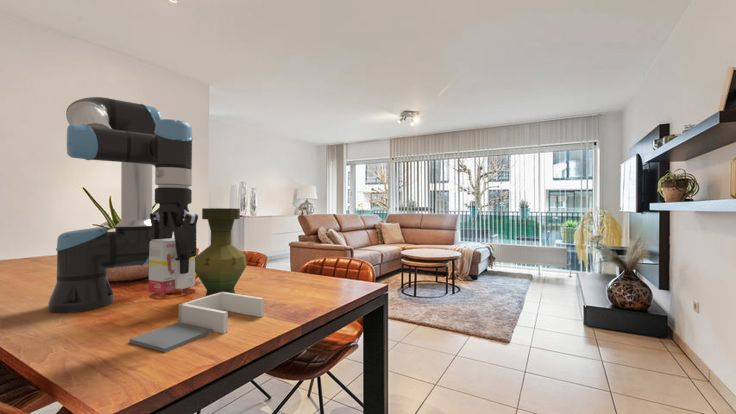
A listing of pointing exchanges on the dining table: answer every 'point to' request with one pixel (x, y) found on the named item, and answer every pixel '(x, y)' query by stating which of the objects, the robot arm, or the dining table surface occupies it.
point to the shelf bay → (218, 310)
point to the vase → (220, 253)
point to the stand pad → (170, 336)
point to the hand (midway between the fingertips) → (172, 285)
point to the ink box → (166, 266)
